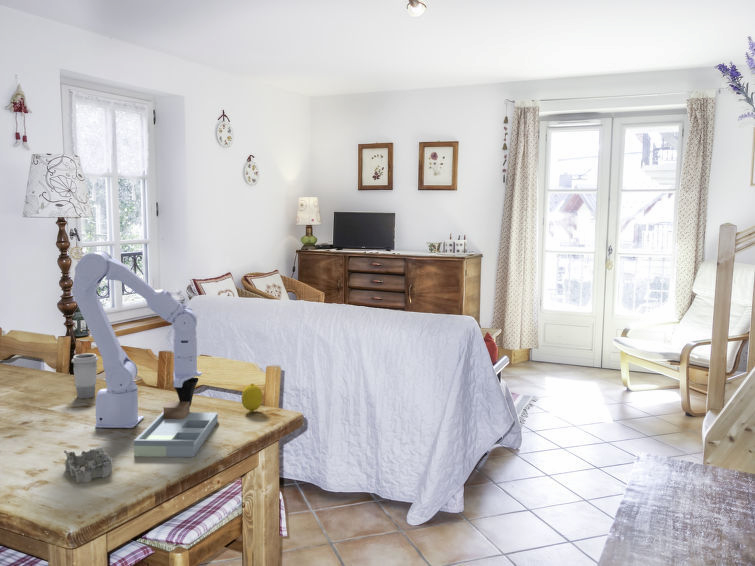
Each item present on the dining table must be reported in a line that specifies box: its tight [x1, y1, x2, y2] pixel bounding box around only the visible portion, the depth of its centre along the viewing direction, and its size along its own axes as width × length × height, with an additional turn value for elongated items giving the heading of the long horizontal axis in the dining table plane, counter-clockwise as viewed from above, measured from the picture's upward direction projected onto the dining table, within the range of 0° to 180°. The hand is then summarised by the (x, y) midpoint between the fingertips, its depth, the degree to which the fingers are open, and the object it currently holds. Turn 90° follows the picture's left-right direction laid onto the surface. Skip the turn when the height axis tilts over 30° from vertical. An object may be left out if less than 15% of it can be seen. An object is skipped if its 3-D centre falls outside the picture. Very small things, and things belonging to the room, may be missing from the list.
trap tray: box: [133, 410, 219, 458], centre depth 144 cm, size 13×23×4 cm, turn 2°
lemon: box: [241, 383, 263, 413], centre depth 164 cm, size 6×6×8 cm
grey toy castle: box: [63, 447, 114, 483], centre depth 124 cm, size 11×8×4 cm
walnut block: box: [163, 400, 191, 419], centre depth 152 cm, size 5×5×3 cm
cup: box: [71, 352, 99, 400], centre depth 174 cm, size 7×7×12 cm
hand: (185, 406), depth 156 cm, fingers closed
